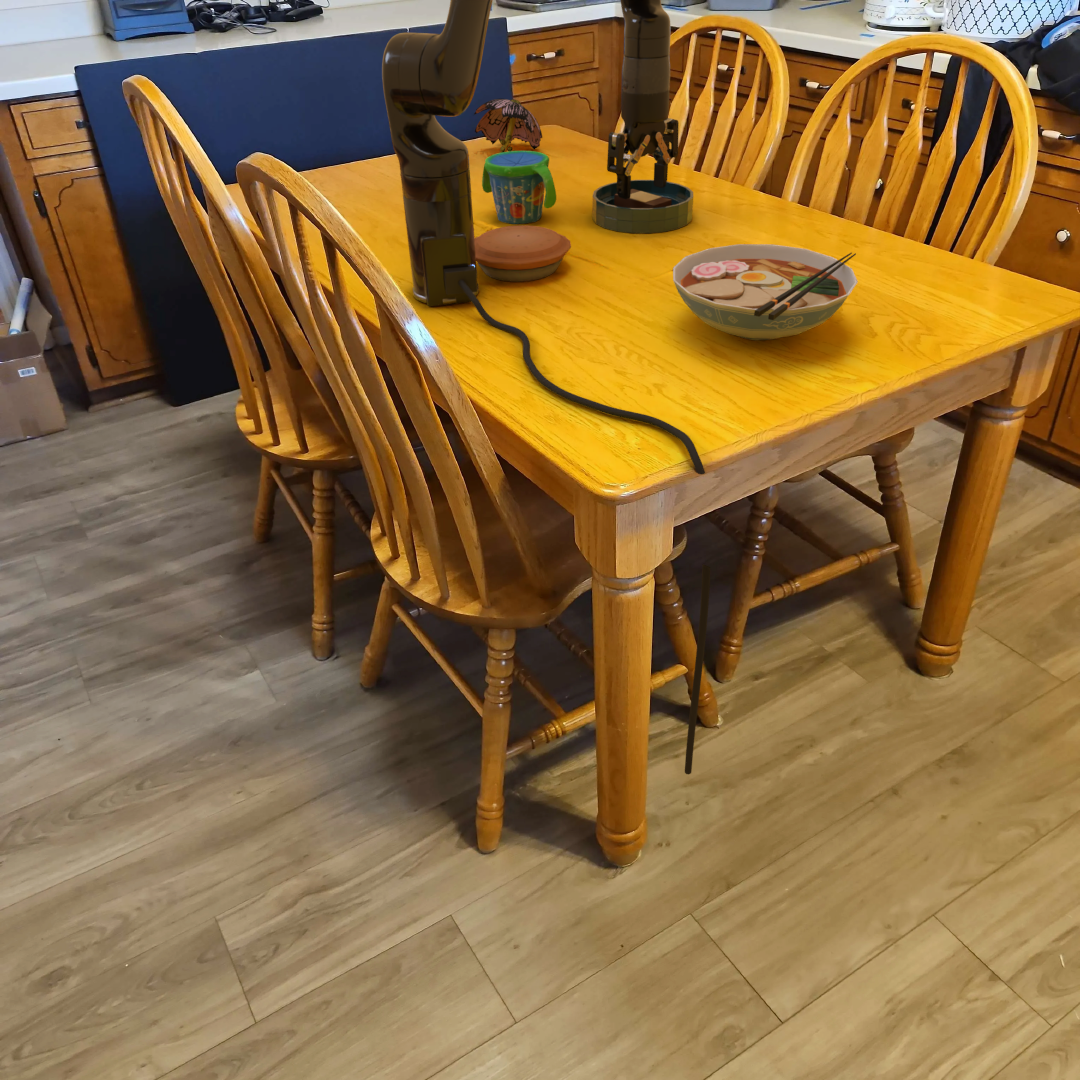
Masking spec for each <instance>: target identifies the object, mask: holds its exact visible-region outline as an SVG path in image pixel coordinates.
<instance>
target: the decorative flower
mask: <svg viewBox="0 0 1080 1080" xmlns="http://www.w3.org/2000/svg"><path fill="white" fill-rule="evenodd" d="M487 110H488V111H487ZM483 111H486V112H485V113H484V114H483V116H482V117H480V120H479V121H478V123H477V125H476V127H475V128H474V133H475V134H478V133H479V132H481V134H483V138H486V139H485V140H486V141H490V143H491V144H492V145H494V144H496V142H497V141H499V143H500V145H502V146H501V147H500V148H499V149H500V150H499V151H500V152H499V153H502V152H506V151H507V152H508V151H513V147H512V146H510V145H511V144H512V142H513V140H515V139H517V140H521V141H520V142H524V143H525V144H526V143H529V145H530V147H531V148H532V150H533V151H535V150H536V149H537V148H539V147H540V146H541V139H543V138H544V137H543V133H542V130H541V127H540V124H539V122H538V120H537V118H536V117H535V116H534V115H533V113H532V112H531V111H529V110H528V109H527V108H526V107H524V105H522V103H521V102H520V100H518V99H515V98H512V99H507V98H494V99H490V100H488V101H486V102H484V103H483V104H481V105H479V107H477V108H476V110H475V112H474V113H473V116H474V115H477V114H479V113H482V112H483Z"/></svg>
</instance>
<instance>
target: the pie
mask: <svg viewBox="0 0 1080 1080" xmlns="http://www.w3.org/2000/svg"><path fill="white" fill-rule="evenodd" d="M474 240H475V254H476V264H478V266H479V268H480V269H481V270H482V272H483V273H484V274H485V275H486V276H488V277H490V278H491V279H494V280H498V281H502V282H510V283H511V282H512V283H514V282H515V283H517V282H518V283H521V282H523V283H524V282H532V281H537V280H541V279H544V278H547V277H550V276H551V275H552V274H554V273H555V272H556V271H557V270H558V268H559V266H560V264H561V263H562V261H563V259H564V257H566V254H567V253H568V252H569V251H570V249H571V248H572V243H571V240H570V239H569V238H568V237H567V236H565V235H563V234H560V233H558V232H557V231H555V230H553V229H551V228H547V227H544V226H537V225H508V226H507V225H506V226H501V227H496V228H493V229H491V230H487V231H485V232H483V233H481V234H480V235H479V236H476V237H474Z"/></svg>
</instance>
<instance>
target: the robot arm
mask: <svg viewBox="0 0 1080 1080" xmlns="http://www.w3.org/2000/svg"><path fill="white" fill-rule="evenodd" d="M493 1H494V0H450V2H449V6H448V7H449V8H448V12H447V17H446V21H445V25H444V27H443V29H442V31H441V33H426V32H425V33H424V32H400V33H397V34H395V35H393V36H392V37H391V38H390V39H389V40H388V42H387V44H386V45H385V48H384V51H383V56H382V62H381V79H382V88H383V89H382V90H383V96H384V102H385V108H386V115H387V120H388V126H389V133H390V138H391V139H390V140H391V144H392V147H393V150H394V153H395V155H396V157H397V160H398V164H399V171H400V173H399V174H400V180H401V181H400V182H401V190H402V199H403V201H402V202H403V208H404V209H403V210H404V218H405V227H406V238H407V245H408V253H409V263H410V264H409V265H410V269H411V280H412V295H413V297H414V299H416V300H417V301H419V302H421V303H425V304H426V306H427V307H435V306H447V305H457V304H466V303H472V304H473V306H474V307H475V309H476V310H477V313H478V314H479V315H480V316H481V318H482V319H483V320H484V321H486V322H487V323H488V324H489V325H490V326H492V327H494V328H496V329H497V330H501V331H504V332H508V333H511V334H513V335H515V336H517V337H518V338H519V339H520V340H521V342H522V357H523V360H524V363H525V365H526V367H527V368H528V370H529V372H530V374H531V375H532V376H533V377H534V379H536V381H537V382H538V383H540V384H541V385H542V387H545V388H546V389H547V390H549V391H551V392H552V393H553V394H555V395H556V396H559V397H561V398H563V399H565V400H567V401H570V402H572V403H574V404H577V405H580V406H583V407H585V408H589V409H592V410H594V411H598V412H600V413H603V414H606V415H610V416H614V417H617V418H622V419H625V420H626V419H627V420H631V421H636V422H640V423H644V424H647V425H651V426H653V427H656V428H658V429H661V430H662V431H664V432H667V433H668V434H670V435H672V436H673V437H675V438H677V439H678V440H679V441H680V442H681V443H682V444H683V446H684V447H685V448H686V450H687V453H688V455H689V457H690V460H691V462H692V464H693V467H694V470H695V472H696V474H698V475H705V474H706V471H705V468H704V465H703V462H702V459H701V458H700V455H699V453H698V451H697V448H696V446H695V443H694V442H693V440H692V439H691V438H690V436H689V435H688V434H687V433H685V432H684V431H682V430H681V429H679V428H677V427H675V426H674V425H671V424H670V423H669V422H667V421H665V420H662V419H659V418H657V417H655V416H651V415H648V414H644V413H640V412H636V411H635V412H634V411H630V410H626V409H622V408H621V409H620V408H616V407H613V406H609V405H606V404H603V403H600V402H597V401H595V400H591V399H588V398H585V397H582V396H579V395H577V394H574V393H572V392H570V391H568V390H565V389H563V388H561V387H560V386H557V385H556V384H554V383H553V382H551V381H550V380H549V379H547V377H545V376H544V375H543V374H542V373H541V372H540V370H539V369H538V367H537V366H536V364H535V362H534V361H533V359H532V357H531V342H530V339H529V337H528V335H527V334H526V333H525V332H524V331H523V330H521V329H520V328H518V327H515V326H513V325H510V324H506V323H503V322H500V321H498V320H496V319H495V318H493V317H492V316H491V315H490V314H488V312H487V311H486V309H485V308H484V307H483V305H482V303H481V302H480V300H479V299H478V298H477V295H478V294H479V292H480V288H479V286H480V285H479V281H478V268H477V262H476V254H475V240H474V238H475V228H474V215H473V212H474V211H473V199H472V185H471V172H470V171H471V168H470V153H469V149H468V147H467V145H466V144H465V143H464V141H462V140H460V139H459V138H457V137H455V136H454V135H452V134H451V133H449V131H447V130H446V129H444V127H443V126H442V125H441V124H440V123H439V122H438V120H437V118H436V117H447V118H448V117H452V118H453V117H457V116H461V115H462V114H464V113H465V112H466V111H467V109H468V108H469V106H470V105H471V103H472V101H473V98H474V95H475V92H476V88H477V85H478V81H479V77H480V71H481V65H482V60H483V54H484V48H485V42H486V36H487V32H488V31H487V30H488V26H489V20H490V15H491V10H492V5H493ZM620 5H621V7H620V8H621V12H622V16H623V22H624V30H623V59H622V66H621V67H622V68H621V89H620V90H621V94H620V95H621V96H620V97H621V98H620V99H621V100H620V106H621V107H620V117H621V119H622V120H623V123H624V127H623V131H622V132H614V131H611V132H609V134H608V139H607V140H608V143H607V160H606V161H607V162H606V170H607V172H609V173H613V174H615V175H616V182H617V194H618V196H619V197H620V198H623V199H628V198H630V196H631V180H632V175H631V173H632V171H633V170H634V167H635V165H636V164H639V162H640V159H641V158H643V157H646V156H647V155H652V157H653V159H654V161H655V162H653V163H654V164H653V180H654V186H656V187H660V188H663V187H665V186H666V182H667V181H668V172H669V170H668V169H669V164H670V163H671V160H672V159H673V158H674V159H675V158H677V157H678V155H679V126H680V125H679V120H678V119H674V118H670V117H669V110H670V90H671V89H670V88H671V60H670V57H671V56H670V53H671V52H670V50H671V19H670V16H669V13H667V12H666V10H665V9H664V8H663V6H662V0H620ZM670 145H671V146H670ZM629 153H630V154H629ZM626 163H627V164H626ZM710 588H711V567H710V566H708V565H706V564H704V563H702V567H701V592H700V609H699V621H698V633H697V641H696V653H695V661H694V662H695V663H694V671H693V680H692V690H691V700H690V707H689V717H688V727H687V738H686V749H685V762H684V763H685V764H684V774H686V775H691V774H692V768H693V757H694V747H695V735H696V727H697V718H698V711H699V710H698V708H699V701H700V692H701V683H702V674H703V665H704V658H705V657H704V656H705V648H706V640H707V639H706V637H707V628H708V618H709V604H710Z"/></svg>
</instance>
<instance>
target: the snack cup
mask: <svg viewBox="0 0 1080 1080" xmlns="http://www.w3.org/2000/svg"><path fill="white" fill-rule="evenodd" d="M549 164H550V157H549V156H548V155H547V154H545V153H543V152H540V151H535V150H533V151H532V150H512V151H508V150H507V151H505V152H502V153H500V152H498V153H494V154H492V155H491V154H490V155H489V156H487V157H486V159H484V164H483V169H482V176H481V178H482V180H481V187H482V191H483V192H484V193H487V194H489V193H492V198H493V203H494V208H495V212H496V215H497V220H498V221H499V222H502V223H504V224H509V225H525V224H532V223H535V222H538V221H539V220H540V219H541V218H542V215H543V207H544V208H545V209H551V208H552V207H554V205H556V202H557V191H556V187H555V186H556V185H555V182H554V179H553V176H552V172H551V170H550V168H549Z"/></svg>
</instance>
